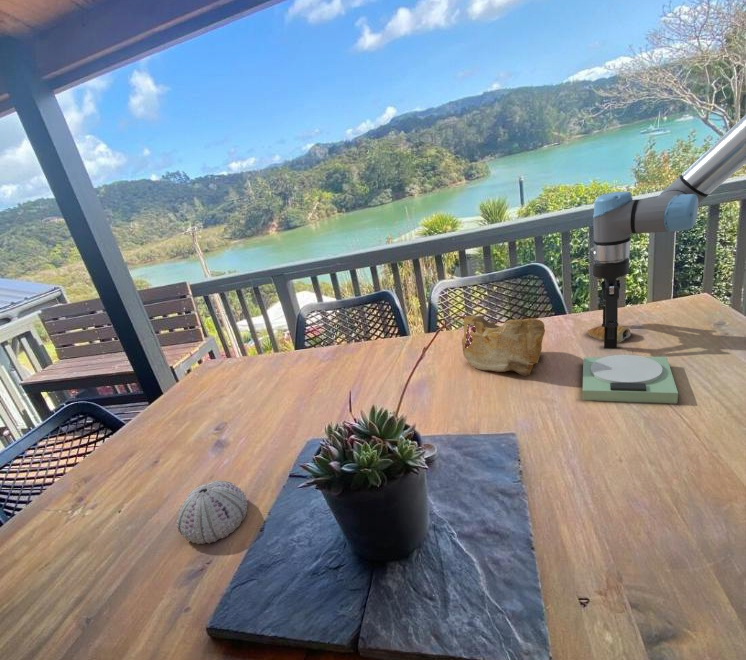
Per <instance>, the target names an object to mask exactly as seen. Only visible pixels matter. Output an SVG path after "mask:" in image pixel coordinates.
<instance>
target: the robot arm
mask: <svg viewBox="0 0 746 660" xmlns="http://www.w3.org/2000/svg"><path fill="white" fill-rule="evenodd" d="M745 165H746V114H744V116H743V117H742V118H740V119H739V120H738V121H737V122H736V123H735V124H734V125H733V126H732V127H731V128H730V129H729V130H728V131H726V132H725V133H724V134H723V135H722V136H721V137H720V138H719V139H718V140H717V141H716V142H715V143H713V144H712V146H710V147H709V148H708V149H707V150H706V151H705V152H704V153H703V154H702V155H701V156H700V157H699V158H697V159H696V160H695V161H694V162H693V163H692V164H691V165H690V166H689V167H688V168H687V169H686V170H685V171H683V172H682V174H680V175H679V176H678V177H677V178H676V179H675V180H674V181H673V182H672V183H670V185H669V186H667V187H666V188H665V189H664V190H662V192H660V194H659V195H658V196H656V197H651V198H650V197H649V198H643V199H633V197H632V196H633V195H632V192H631V191H628V190H627V191H626V190H624V191H614V192H608V193H604V194H601V195H599V196H597V197H596V199H594V205H593V206H594V208H593V216H592V219H593V247H591V248H590V252H593V260H594V261H593V263H592V264H593V266H592V267H593V268H592V270H593V272H592V274H593V276H594V277H595V278H597V279H603V280H602V281H600V288H601V293H602V305H603V306H602V323H601V326H602V327H604V340H603V348H604V349H617V348H618V343H617V327H618V326H619V323H618V321H619V320H618V319H619V317H618V316H619V314H618V312H619V311H618V309H619V308H618V307H619V305H618V304H619V303H618V302H619V300H620V290H621V282H620V279H618V278H622V277H625V276H626V275H628V274H629V272H630V259H629V257H630V256H631V235H637V234H652V233H653V234H654V233H655V234H656V233H676V232H681V231H689V230H691V229H692V228H694V227H695V225H696V222H697V220H698V219H697V218H698V213H699V204H700V203H702V202H703V201H704V200H705V199H706V198H707V197H709V195H710V194H711V193H713V192H714V191H715V190H717V188H719V187H720V186H722V184H723V183H725V182H726V181H727V180H728V179H729V178H730V177H732V176H733V175H734V174H735V173H737V172H738V171H739V170H740V169H741V168H742V167H744V166H745Z"/></svg>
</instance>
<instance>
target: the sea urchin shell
mask: <svg viewBox="0 0 746 660" xmlns="http://www.w3.org/2000/svg"><path fill="white" fill-rule="evenodd" d="M246 496H247V494H245V491H243V490H241V487H238V486H236V484H235V483H234V484H233V482H230V481H226V480H214V481H212V482H209V483H205V484H200V485H199V486H197V487H195V488H194V489H193V490H192V491H190V492H189V493H188V495H187V497H186V499H185V500H184V502H182V505H181V506H180V509H179V510H178V511H179V512H178V514H177V520H176V522H175V523H176V528H177V532H179V534H180V535H181V536H182V537H183V538H185V539H186V541H190V542H191V543H192V544H197V545H200V544H201V545H205V544H206V543H207V544H209V545H210V544H211V543H215V542H217V541H218V540H220V539H225V538H226V537H229V535H230V534H232V533H234V532H235V530H237V528H238V527H239V526H241V523H242V522H243V521H244V520H245V518H246V515H247V513H248V510H247V509H248V502H247V501H248V499H247V497H246Z"/></svg>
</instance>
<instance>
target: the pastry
mask: <svg viewBox="0 0 746 660" xmlns="http://www.w3.org/2000/svg"><path fill="white" fill-rule="evenodd" d="M630 329H631V328H629V326H627V325H626V326H622V325H618V327H617V344H621V343H622V342H623V341H624V340H626V339H629V338H630V337H631V334H632V333H631V330H630ZM587 333H588V335H589V337H591V338H593V339H596V340H598V341H604V327H602V325H601V326H595V327H592V328H590V329H589V330H588V331H587Z"/></svg>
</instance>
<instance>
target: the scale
mask: <svg viewBox="0 0 746 660" xmlns="http://www.w3.org/2000/svg"><path fill="white" fill-rule="evenodd" d="M582 363H583V365H582V401H599V402H624V403H625V402H627V403H628V402H629V403H655V404H657V403H658V404H678V401H679V400H678V399H679V392H678V388H677V386H676V381H675V378H674V376H673V373H672V370H671V367H670V363H669V359H668V357H667V356H641V355H634V354H614V355H607V356H584V357H583V358H582Z"/></svg>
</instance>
